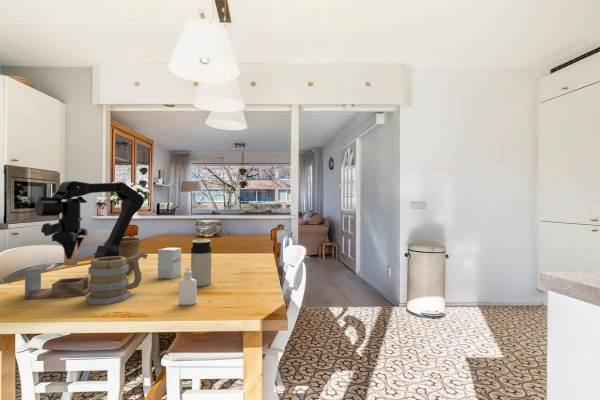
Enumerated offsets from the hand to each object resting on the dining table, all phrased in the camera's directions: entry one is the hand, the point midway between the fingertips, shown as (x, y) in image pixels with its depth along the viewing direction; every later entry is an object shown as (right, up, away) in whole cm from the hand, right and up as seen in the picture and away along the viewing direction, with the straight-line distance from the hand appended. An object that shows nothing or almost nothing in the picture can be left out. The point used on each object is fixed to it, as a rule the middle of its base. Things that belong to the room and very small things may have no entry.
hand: (70, 257), depth 123 cm
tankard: (+20, -13, -4) cm, 24 cm away
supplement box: (+26, -13, +27) cm, 40 cm away
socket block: (-3, -13, -1) cm, 13 cm away
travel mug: (+44, -14, +14) cm, 48 cm away
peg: (0, -3, 0) cm, 2 cm away
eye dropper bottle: (+47, -14, -11) cm, 50 cm away
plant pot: (+2, -13, +32) cm, 35 cm away
